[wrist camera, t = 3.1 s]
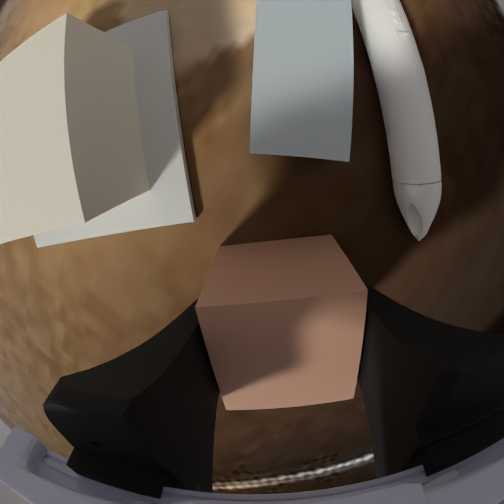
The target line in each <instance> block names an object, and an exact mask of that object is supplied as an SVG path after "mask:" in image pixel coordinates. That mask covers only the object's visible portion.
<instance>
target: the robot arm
mask: <svg viewBox="0 0 504 504" xmlns="http://www.w3.org/2000/svg"><path fill="white" fill-rule="evenodd" d="M363 283H364V282H363ZM364 284H365V286H366V288H367V289H368V294H367V306H366V317H365V326H364V335H363V343H362V350H361V357H360V364H359V370H358V376H357V379H358V382H359V385H360V388H361V391H362V394H363V398H364V403H365V407H366V412H367V417H368V422H369V428H370V433H371V440H372V447H373V454H374V464H375V475H376V479H374V480H370V481H366V482H362V483H357V484H352V485H347V486H342V487H336V488H330V489H323V490H316V491H307V492H297V493H284V494H221V493H212V468H213V445H214V430H215V419H216V408H217V402H218V397H219V393H220V390H219V387H218V384H217V380H216V377H215V374H214V371H213V368H212V365H211V361H210V358H209V355H208V351H207V348H206V345H205V341H204V338H203V334H202V331H201V327H200V324H199V320H198V316H197V313H196V309H195V306H196V303H197V301H198V299H197V300H196V301H195V302H194V303H193V304H192V305H190V306H189V307H188V308H187V309H186V310H185V311H184V312H183V313H182V314H181V315H179V316H178V317H177V318H176V319H175V320H174V321H172V322H171V323H170V324H169V325H167V326H166V327H165V328H164V329H163V330H161V331H160V332H159V333H157V334H156V335H155V336H153V337H152V338H150V339H149V340H147V341H146V342H144V343H143V344H141V345H139V346H138V347H136V348H134V349H132V350H130V351H129V352H127V353H125V354H123V355H121V356H119V357H117V358H115V359H113V360H111V361H108V362H106V363H104V364H101V365H98V366H96V367H93V368H90V369H88V370H84V371H81V372H77V373H74V374H70V375H67V376H63V377H61V378H60V379H59V381H58V382H57V384H56V385H55V387H54V388H53V390H52V391H51V393H50V394H49V396H48V398H47V399H46V401H45V402H44V404H43V406H44V411H45V414H46V415H47V417H48V419H49V420H50V422H51V423H52V424H53V425H54V426H55V428H56V429H57V430H58V431H59V432H60V433H61V434H62V435H63V436H64V437H65V438H66V439H67V440H68V442H69V443H70V444H71V445H72V446H73V447H74V449H73V451H72V453H71V455H70V458H69V459H67V458H65V457H62V456H60V455H58V454H55V453H53V452H51V451H49V450H47V448H46V447H45V446H44V445H43V444H42V443H41V442H40V441H39V440H38V439H37V438H35V437H34V436H32V435H31V434H29V433H27V432H25V431H23V430H21V429H19V428H17V427H13V429H12V430H11V432H10V434H9V435H8V437H7V439H6V441H5V442H4V444H3V445H2V447H1V449H0V481H1V482H3V483H4V484H5V485H6V486H8V487H9V488H10V489H12V490H13V491H14V492H16V493H17V494H19V495H20V496H21V497H22V498H24V499H25V500H27V501H28V502H30V503H31V504H504V334H500V333H489V332H481V331H475V330H470V329H465V328H461V327H457V326H453V325H450V324H446V323H443V322H440V321H437V320H434V319H431V318H429V317H426V316H424V315H422V314H419V313H417V312H415V311H413V310H411V309H408V308H407V307H405V306H403V305H401V304H399V303H397V302H395V301H394V300H392V299H390V298H388V297H387V296H385V295H383V294H382V293H380V292H379V291H377V290H375V289H374V288H372V287H371V286H369V285H368V284H366V283H364Z"/></svg>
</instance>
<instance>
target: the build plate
mask: <svg viewBox="0 0 504 504" xmlns="http://www.w3.org/2000/svg"><path fill="white" fill-rule="evenodd" d="M104 33H106V34H108V35H110V36H111V37H113V38H115V39H117V40H118V41H120V42H122V43H123V44H125V45H127V46H129V47H130V48H132V49H133V63H134V76H135V87H136V96H137V105H138V114H139V122H140V129H141V136H142V143H143V149H144V155H145V162H146V167H147V173H148V179H149V184H150V189H151V190H149V191H147V192H145V193H143V194H141V195H139V196H137V197H134V198H132V199H130V200H128V201H126V202H124V203H122V204H120V205H118V206H116V207H114V208H112V209H110V210H108V211H106V212H105V213H103V214H101V215H99V216H97V217H95V218H93V219H91V220H90V221H88V222H86V223H82V224H78V225H73V226H69V227H64V228H60V229H56V230H51V231H47V232H43V233H39V234H35V235H34V238H35V241H36V245H37V248H39V247H44V246H49V245H54V244H59V243H64V242H70V241H75V240H80V239H86V238H92V237H97V236H103V235H109V234H115V233H121V232H127V231H134V230H140V229H147V228H153V227H160V226H167V225H174V224H181V223H188V222H194V221H195V220H196V215H195V209H194V204H193V198H192V193H191V187H190V181H189V175H188V169H187V163H186V157H185V150H184V144H183V137H182V130H181V123H180V116H179V108H178V100H177V92H176V84H175V75H174V66H173V57H172V46H171V35H170V23H169V13H168V11H167V10H166V9H165V10H162V11H159V12H155V13H152V14H149V15H146V16H143V17H140V18H138V19H135V20H132V21H130V22H127V23H125V24H122V25H120V26H117V27H115V28H112V29H110V30H108V31H105V32H104Z"/></svg>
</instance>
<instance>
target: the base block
mask: <svg viewBox="0 0 504 504" xmlns="http://www.w3.org/2000/svg"><path fill="white" fill-rule="evenodd" d="M149 190H151V189H150V184H149V179H148V173H147V167H146V162H145V155H144V149H143V143H142V136H141V129H140V122H139V114H138V105H137V96H136V87H135V76H134V63H133V49H132V48H130V47H129V46H127V45H125V44H123V43H122V42H120V41H118V40H117V39H115V38H113V37H111V36H110V35H108V34H106V33H104V32H102V31H101V30H99V29H97V28H95V27H93V26H91V25H89V24H87V23H85V22H84V21H82V20H80V19H78V18H76V17H74V16H71V15H69V14H67V13H66V14H65V15H63V16H61V17H60V18H58V19H57V20H55V21H53V22H52V23H50V24H49V25H47V26H46V27H44V28H43V29H41V30H40V31H38V32H37V33H36V34H34V35H33V36H31V37H30V38H29V39H27V40H26V41H25V42H23V43H22V44H21V45H20V46H18V47H17V48H16V49H15V50H13V51H12V52H11V53H10V54H9V55H7V56H6V57H5V58H4V59H3V60H2V61H0V244H1V243H5V242H9V241H12V240H16V239H20V238H24V237H27V236H31V235H35V234H39V233H43V232H47V231H51V230H56V229H60V228H64V227H69V226H73V225H78V224H82V223H86V222H88V221H90V220H91V219H93V218H95V217H97V216H99V215H101V214H103V213H105V212H106V211H108V210H110V209H112V208H114V207H116V206H118V205H120V204H122V203H124V202H126V201H128V200H130V199H132V198H134V197H137V196H139V195H141V194H143V193H145V192H147V191H149Z"/></svg>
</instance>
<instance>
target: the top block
mask: <svg viewBox="0 0 504 504" xmlns="http://www.w3.org/2000/svg"><path fill="white" fill-rule="evenodd" d="M367 294H368V289H367V288H366V286H365V284H364V283H363V281H362V280H361V278H360V277H359V275H358V273H357V272H356V270H355V269H354V267H353V266H352V264H351V263H350V261H349V260H348V258H347V257H346V255H345V254H344V252H343V251H342V249H341V248H340V246H339V245H338V243H337V242H336V240H335V239H334V237H333V236H332V234H331V235H321V236H312V237H302V238H292V239H283V240H273V241H264V242H254V243H245V244H236V245H226V246H220V247H219V249H218V252H217V254H216V257H215V259H214V262H213V264H212V266H211V269H210V271H209V274H208V276H207V279H206V281H205V283H204V286H203V288H202V291H201V293H200V296H199V298H198V301H197V303H196V306H195V309H196V313H197V316H198V320H199V324H200V327H201V331H202V334H203V338H204V341H205V345H206V348H207V351H208V355H209V358H210V361H211V365H212V368H213V371H214V374H215V377H216V380H217V384H218V387H219V390H220V393H221V396H222V399H223V402H224V405H225V407H226V410H252V409H271V408H285V407H295V406H305V405H313V404H321V403H328V402H335V401H341V400H347V399H352V398H354V393H355V387H356V382H357V376H358V370H359V364H360V357H361V350H362V343H363V335H364V326H365V317H366V306H367Z"/></svg>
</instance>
